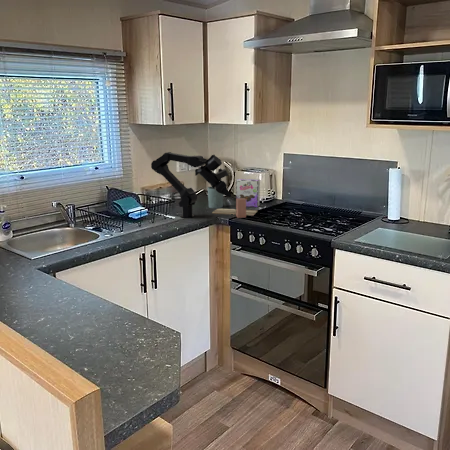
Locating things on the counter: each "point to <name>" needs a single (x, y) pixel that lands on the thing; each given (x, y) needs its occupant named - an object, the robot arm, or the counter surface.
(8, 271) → the counter surface
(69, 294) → the counter surface
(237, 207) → the painted block
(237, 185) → the candy box
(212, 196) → the teal cup
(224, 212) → the board
